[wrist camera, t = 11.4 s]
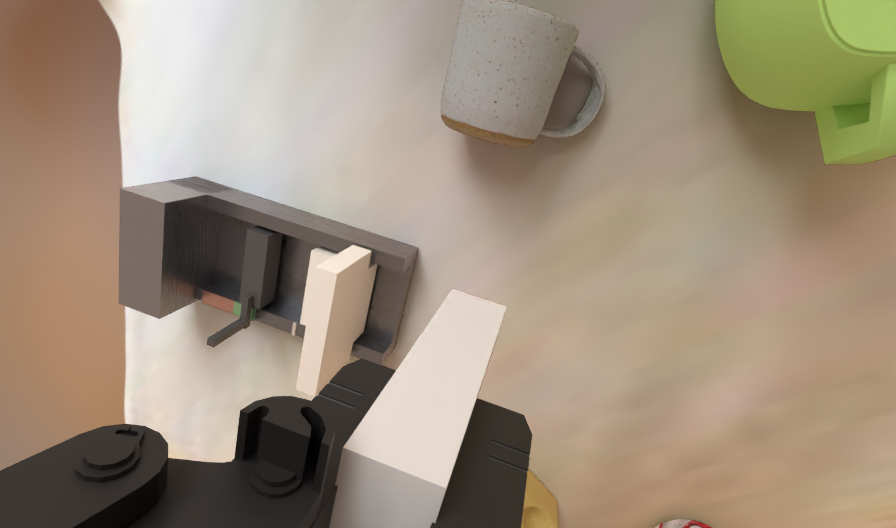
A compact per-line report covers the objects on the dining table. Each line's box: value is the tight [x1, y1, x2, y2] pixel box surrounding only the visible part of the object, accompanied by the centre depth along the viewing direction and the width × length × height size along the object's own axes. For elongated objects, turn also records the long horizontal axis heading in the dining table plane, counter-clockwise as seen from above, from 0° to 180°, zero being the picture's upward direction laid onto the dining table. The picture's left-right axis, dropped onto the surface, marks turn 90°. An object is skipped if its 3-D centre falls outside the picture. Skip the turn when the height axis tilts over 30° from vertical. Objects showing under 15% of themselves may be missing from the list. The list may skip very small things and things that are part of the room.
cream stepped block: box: [296, 245, 377, 397], centre depth 38 cm, size 5×10×8 cm, turn 165°
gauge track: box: [119, 177, 418, 365], centre depth 41 cm, size 22×10×8 cm, turn 75°
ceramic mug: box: [441, 0, 606, 148], centre depth 32 cm, size 11×8×8 cm
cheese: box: [521, 470, 558, 528], centre depth 42 cm, size 10×11×10 cm
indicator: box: [207, 225, 283, 347], centre depth 40 cm, size 2×9×7 cm, turn 165°
